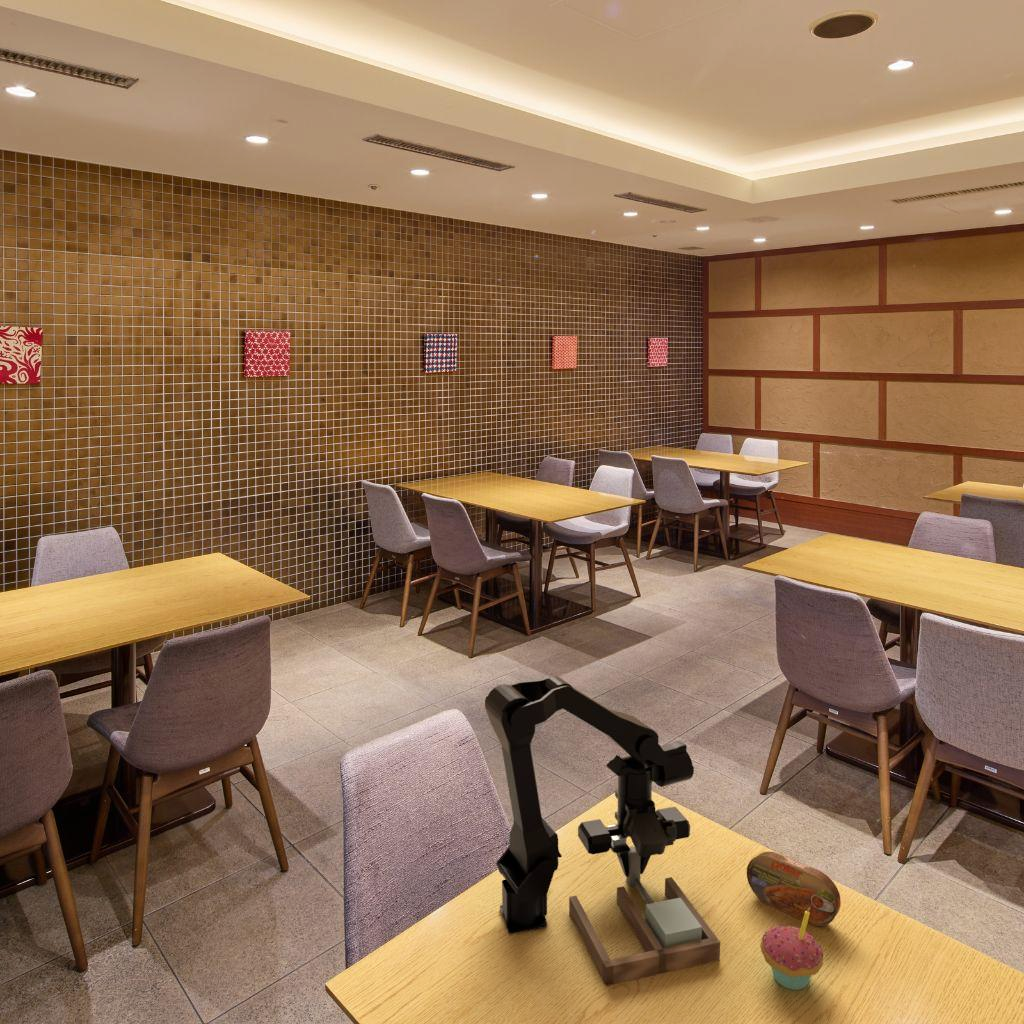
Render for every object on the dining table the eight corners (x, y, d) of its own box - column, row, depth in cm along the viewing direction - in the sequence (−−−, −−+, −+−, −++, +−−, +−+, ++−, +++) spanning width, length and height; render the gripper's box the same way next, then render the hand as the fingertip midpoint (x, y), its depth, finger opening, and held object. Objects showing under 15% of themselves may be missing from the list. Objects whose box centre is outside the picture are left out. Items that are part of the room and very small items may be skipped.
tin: (744, 893, 131) (746, 848, 130) (753, 885, 133) (755, 840, 132) (833, 936, 121) (837, 888, 119) (841, 926, 123) (844, 878, 122)
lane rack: (605, 985, 111) (605, 967, 111) (569, 913, 127) (569, 896, 126) (719, 959, 116) (720, 942, 116) (671, 893, 131) (671, 877, 131)
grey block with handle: (665, 961, 116) (665, 925, 115) (614, 880, 135) (614, 849, 134) (701, 953, 117) (702, 918, 116) (646, 874, 136) (646, 843, 135)
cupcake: (820, 964, 115) (824, 892, 113) (822, 1008, 107) (827, 931, 105) (759, 951, 118) (763, 880, 116) (758, 992, 110) (761, 917, 108)
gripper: (601, 825, 121) (600, 914, 124) (707, 807, 126) (704, 893, 129) (577, 790, 132) (576, 872, 135) (676, 774, 137) (674, 854, 139)
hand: (633, 874), depth 134 cm, fingers closed on grey block with handle, 2 cm apart
